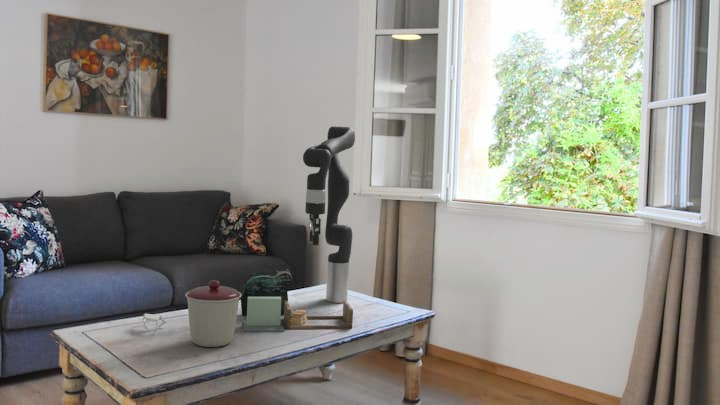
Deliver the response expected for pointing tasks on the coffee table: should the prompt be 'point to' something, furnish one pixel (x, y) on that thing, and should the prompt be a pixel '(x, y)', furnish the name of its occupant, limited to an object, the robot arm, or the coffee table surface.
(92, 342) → the coffee table surface
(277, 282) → the green animal sculpture
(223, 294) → the canister
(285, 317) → the walnut rack
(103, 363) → the coffee table surface
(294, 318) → the offcut block
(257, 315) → the pale green block
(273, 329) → the rubber mat
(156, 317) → the origami figure
